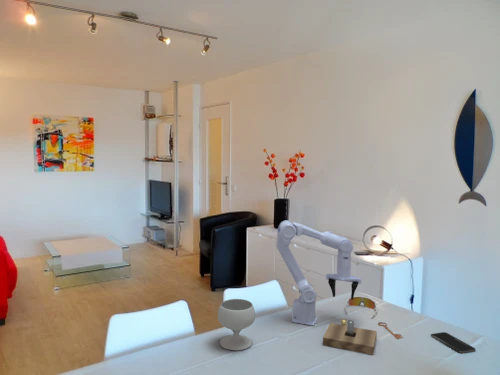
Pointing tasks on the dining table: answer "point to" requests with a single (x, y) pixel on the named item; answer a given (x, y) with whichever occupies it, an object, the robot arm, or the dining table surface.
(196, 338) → the dining table surface
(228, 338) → the chalice
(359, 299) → the sunglasses
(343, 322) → the short pin
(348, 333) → the long pin
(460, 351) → the phone
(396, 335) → the key
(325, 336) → the hole block
